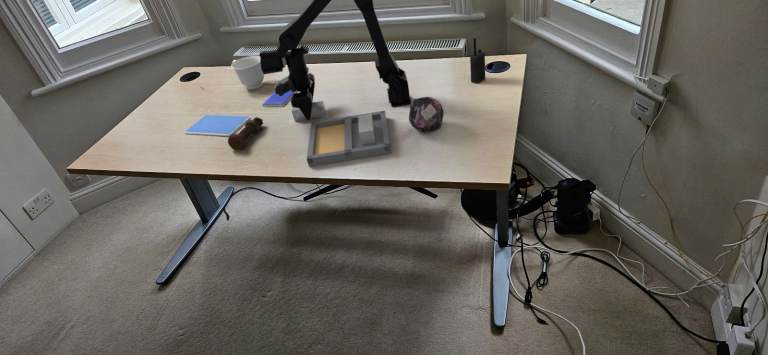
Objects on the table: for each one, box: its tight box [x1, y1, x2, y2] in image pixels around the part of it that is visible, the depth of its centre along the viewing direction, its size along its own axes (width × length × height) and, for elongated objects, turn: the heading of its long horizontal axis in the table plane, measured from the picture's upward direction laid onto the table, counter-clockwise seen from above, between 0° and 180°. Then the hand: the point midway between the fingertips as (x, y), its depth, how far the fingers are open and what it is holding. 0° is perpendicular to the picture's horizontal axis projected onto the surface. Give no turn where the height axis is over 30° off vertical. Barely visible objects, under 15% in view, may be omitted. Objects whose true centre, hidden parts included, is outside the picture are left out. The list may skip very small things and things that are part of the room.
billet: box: [291, 100, 326, 122], centre depth 153 cm, size 4×10×4 cm, turn 93°
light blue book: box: [184, 114, 251, 137], centre depth 158 cm, size 19×13×1 cm, turn 70°
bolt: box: [227, 116, 264, 151], centre depth 147 cm, size 6×5×15 cm
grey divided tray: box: [306, 110, 392, 167], centre depth 136 cm, size 23×21×5 cm
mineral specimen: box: [408, 96, 445, 133], centre depth 134 cm, size 10×10×10 cm
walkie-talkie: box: [469, 37, 486, 84], centre depth 153 cm, size 5×3×15 cm
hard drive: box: [261, 90, 298, 108], centre depth 169 cm, size 2×8×12 cm
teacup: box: [230, 55, 265, 90], centre depth 180 cm, size 12×15×10 cm
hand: (309, 113), depth 153 cm, fingers open, 9 cm apart
